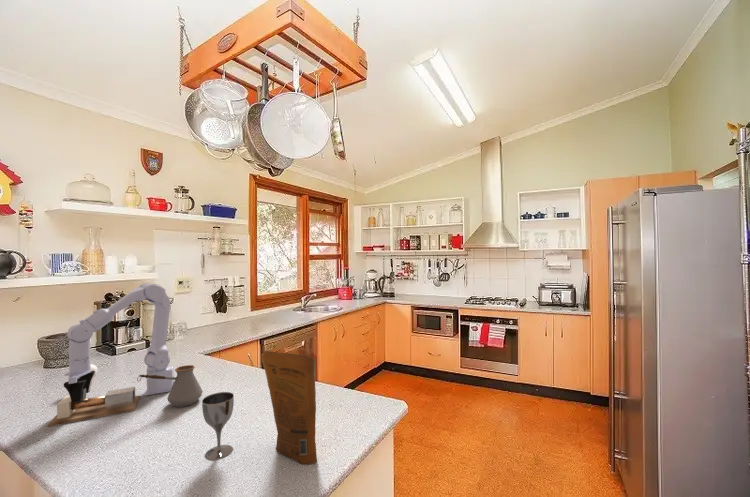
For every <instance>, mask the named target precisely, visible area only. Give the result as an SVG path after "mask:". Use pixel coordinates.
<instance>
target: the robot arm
mask: <svg viewBox="0 0 750 497" xmlns="http://www.w3.org/2000/svg"><path fill="white" fill-rule="evenodd" d="M140 301H148V302H149V303H150V304H152V305H153V306H154V314H153V316H154V317H153V322H152V324H153V325H152V334H151V341H150V346H148V349H147V353H146V355H145V356H144V360H143V362H144V364H145V365H146V366H147V368H146V375H147V374H148V375H158V376H165V377H175V375H174V374H175V370H174V366H169V364H170V361H171V357H170V355H169V349H168V346H167V338H168V327H169V318H170V311H171V300H170V299H169V296H168V294H167V292H166V289H165V288H164V287H163V286H161V285H160V284H156V283H148V282H147V283H142V284H140V285H139V286H137V287H136V288H133V289H132V290H131V291H129V292H128V293H127V294H126V295H124V296H122V297H121V298H120V299H117V301H116V302H114V303H113V304H111V305H110V306H109V307H107V308H100V309H95V310H94V311H92V314H91V315H89V316H87V317H86V318H85V319H81V320H79V323H76V324H74V325H72V326H70V327H69V328H68V330H67V332H66V334H65V335H66V337H67V338H68V340H69V342H68V344H69V346H68V372H67V371H66V372H65V373H64V376H68V381H65V382H64V383H63V387H64V388H65V389H66V391H67V393H68V394H69V395H68V396H70V398H71V401H72V402H78V401H80V400H81V397H82V390H83V388H86V394H88V393H89V392H90V391H89V387H90V383H91V379H92V377H93V375H94V373H95V371H91V364H92V363H91V360H92V358H91V357H92V356H91V338H92V337H93V335H94V333H96V332H97V331H99V330H100V329H102V328H103V327H105V326H106V325H107V324H109V323H111V322H112V321H113V320H114V316H115V315H116V314H118V313H119V312H121V311H122V310H125V308H127V307H129V306H130V305H132V304H134V303H135V302H140ZM174 381H175V380H171V379H152V378H146V390H145V392H144V395H143V396H151V395H157V394H162V393H167V392H168V393H170V391H171V388H172V386H173V384H174Z"/></svg>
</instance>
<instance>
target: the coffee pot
mask: <svg viewBox="0 0 750 497" xmlns="http://www.w3.org/2000/svg"><path fill="white" fill-rule="evenodd" d="M195 368H196V367H195V365H193V364H189V365H187V364H186V365H182V366H178V367H177V368H175V370H174V372H175V373H176V376H174V377H165V376H158V375H148V374H147V373H146V374H139V375H138V376H137V377H136V381H137V382H139V381H141V380H142V378H145V379H147V378H152V379H171V380H174V384H173V386H172V388H171V391H169V392H168V396H167V402H168V403H170V404H171V405H173V406H174V408H175V407H177V408H182V407H188V406H190V405H193V404H195V403H196V402H198V400H199V399H200V398H201V397H202V395H203V392H204V390H203V388H202V387H201V385H200V383H199V381H198V379H197V377H196V376H195V374H194V369H195ZM139 377H140V379H139Z"/></svg>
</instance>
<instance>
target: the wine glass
mask: <svg viewBox="0 0 750 497" xmlns="http://www.w3.org/2000/svg"><path fill="white" fill-rule="evenodd" d="M234 399H235V396H234V393H233V392H230V391H218V392H215V393H211V394H209V395H207V396H205V397H204V398H202V400H201V403H202V404H201V407H202V408H201V409H202V415H203V420H204V421H205V423H206V424H207V425H208V426H209V427H211V428H212V429H213V430H214V431H215V436H216V442H217V445H215V446H214V447H212V448H210V449H208V450H207V451H206V452H205V454H204V458H205V460H208V461H218V460H221V459H222V460H223V459H224V458H226V457H228V456H229V455H231V453H233V451H234V448H233V446H232V445H230V444H221V441H222V440H221V437H222V431H223V428H225V426H226V424H227V423H228V422H229V421H230V419H231V417H232V414H233V411H234V405H235V404H234V403H235V400H234Z"/></svg>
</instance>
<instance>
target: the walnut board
mask: <svg viewBox="0 0 750 497" xmlns="http://www.w3.org/2000/svg"><path fill="white" fill-rule="evenodd" d="M140 400H141V394H140V395H135V401H134V403H133V404H132V405H126V406H121V407H115V408H110V409H105V404H104V405H99V406H93V407H87V408H82V409H76V410H75V411H74V412H73V413H72V414H71V415H70V417H66V418H61V419H57V414H56V415H55V416H54V417H53V418H52V419H51V420H50V421H49V422H48V426H47V427H52V426H59V425H63V424H70V423H75V422H80V421H84V420H86V421H87V420H90V419H97V418H100V417H101V418H102V417H107V416H112V415H116V414H117V415H118V414H122V413H128V412H134V410H135V409H136V407H137V405H138V403H139V402H140Z"/></svg>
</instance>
